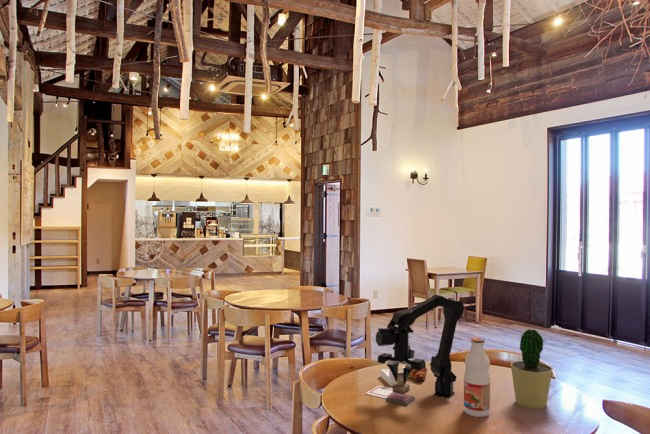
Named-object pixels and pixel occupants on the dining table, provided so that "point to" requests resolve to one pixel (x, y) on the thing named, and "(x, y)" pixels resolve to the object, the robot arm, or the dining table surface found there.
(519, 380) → the potted cactus
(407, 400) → the ink pad
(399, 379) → the stamp
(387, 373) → the bracket
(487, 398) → the fruit juice
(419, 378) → the croissant
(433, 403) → the dining table surface
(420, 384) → the dining table surface
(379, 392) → the paper card
